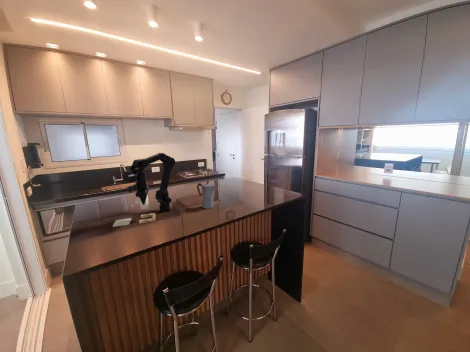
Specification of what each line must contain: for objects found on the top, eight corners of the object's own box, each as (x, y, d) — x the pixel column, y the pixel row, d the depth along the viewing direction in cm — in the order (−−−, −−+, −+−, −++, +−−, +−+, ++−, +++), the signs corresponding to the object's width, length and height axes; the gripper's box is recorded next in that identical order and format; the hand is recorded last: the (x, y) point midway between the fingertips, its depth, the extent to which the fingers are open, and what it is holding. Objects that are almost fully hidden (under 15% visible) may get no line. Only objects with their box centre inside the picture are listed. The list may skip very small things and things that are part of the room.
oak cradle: (155, 214, 139) (155, 212, 138) (154, 221, 128) (154, 219, 128) (141, 216, 136) (141, 214, 136) (139, 223, 126) (139, 221, 125)
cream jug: (149, 205, 133) (147, 192, 131) (148, 208, 128) (147, 195, 127) (136, 207, 131) (134, 194, 129) (135, 210, 126) (133, 196, 124)
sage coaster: (131, 218, 133) (131, 218, 133) (129, 224, 125) (129, 223, 125) (115, 221, 130) (115, 220, 130) (112, 226, 122) (112, 226, 122)
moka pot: (215, 209, 145) (214, 182, 141) (195, 208, 148) (193, 182, 144) (218, 205, 154) (217, 179, 150) (200, 204, 158) (198, 179, 153)
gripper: (129, 177, 132) (132, 200, 136) (124, 184, 115) (127, 209, 118) (147, 176, 136) (150, 198, 139) (145, 182, 119) (148, 207, 122)
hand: (144, 203), depth 129 cm, fingers closed on cream jug, 5 cm apart
